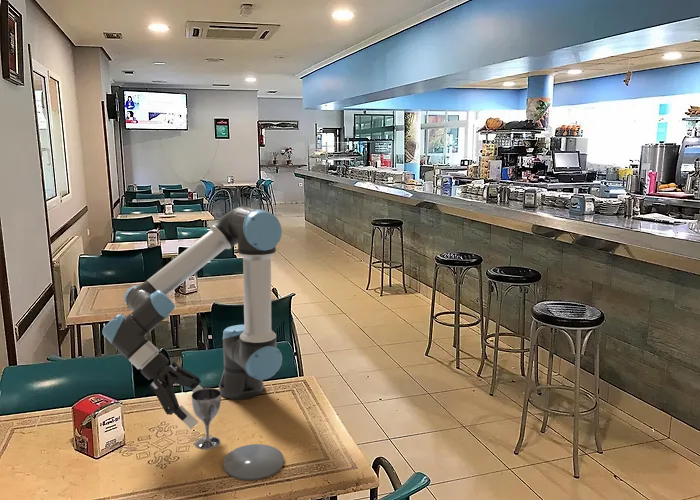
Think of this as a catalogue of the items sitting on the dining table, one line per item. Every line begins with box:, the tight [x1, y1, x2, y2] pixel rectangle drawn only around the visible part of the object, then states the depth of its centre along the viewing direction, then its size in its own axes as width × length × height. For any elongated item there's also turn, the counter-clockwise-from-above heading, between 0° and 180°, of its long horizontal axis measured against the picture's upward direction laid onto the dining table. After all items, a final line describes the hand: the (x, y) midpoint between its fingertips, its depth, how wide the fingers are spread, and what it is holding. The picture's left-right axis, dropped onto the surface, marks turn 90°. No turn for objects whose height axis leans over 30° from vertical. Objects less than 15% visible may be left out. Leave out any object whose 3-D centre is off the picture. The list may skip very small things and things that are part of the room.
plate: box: [223, 443, 285, 481], centre depth 156 cm, size 16×16×1 cm
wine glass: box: [191, 387, 222, 450], centre depth 165 cm, size 8×8×15 cm
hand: (203, 414), depth 164 cm, fingers open, 13 cm apart
